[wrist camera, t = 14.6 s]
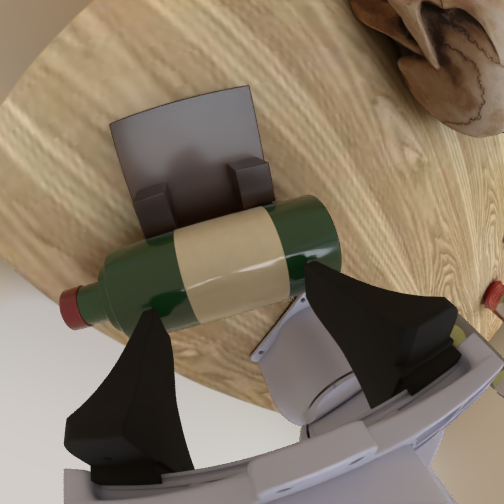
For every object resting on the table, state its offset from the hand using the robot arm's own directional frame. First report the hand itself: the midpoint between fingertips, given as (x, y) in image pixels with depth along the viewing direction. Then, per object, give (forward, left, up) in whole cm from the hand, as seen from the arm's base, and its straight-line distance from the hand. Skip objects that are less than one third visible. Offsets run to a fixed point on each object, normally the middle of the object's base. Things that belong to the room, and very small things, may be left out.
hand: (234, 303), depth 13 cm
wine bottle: (-1, +1, -6) cm, 7 cm away
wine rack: (+1, +1, -9) cm, 9 cm away
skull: (+25, -4, -9) cm, 27 cm away
